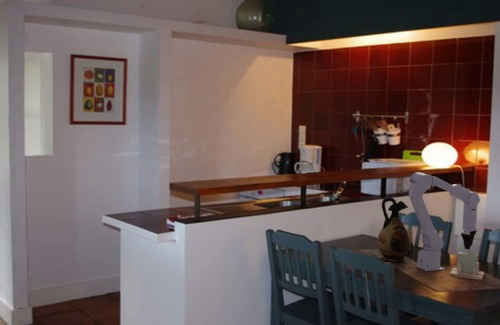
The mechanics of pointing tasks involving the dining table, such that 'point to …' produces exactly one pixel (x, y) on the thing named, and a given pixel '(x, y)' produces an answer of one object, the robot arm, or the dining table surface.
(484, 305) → the dining table surface
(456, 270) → the hinge bracket
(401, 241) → the ceramic jug
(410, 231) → the ammunition clip
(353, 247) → the dining table surface
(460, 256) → the door
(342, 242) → the dining table surface
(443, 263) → the dining table surface
